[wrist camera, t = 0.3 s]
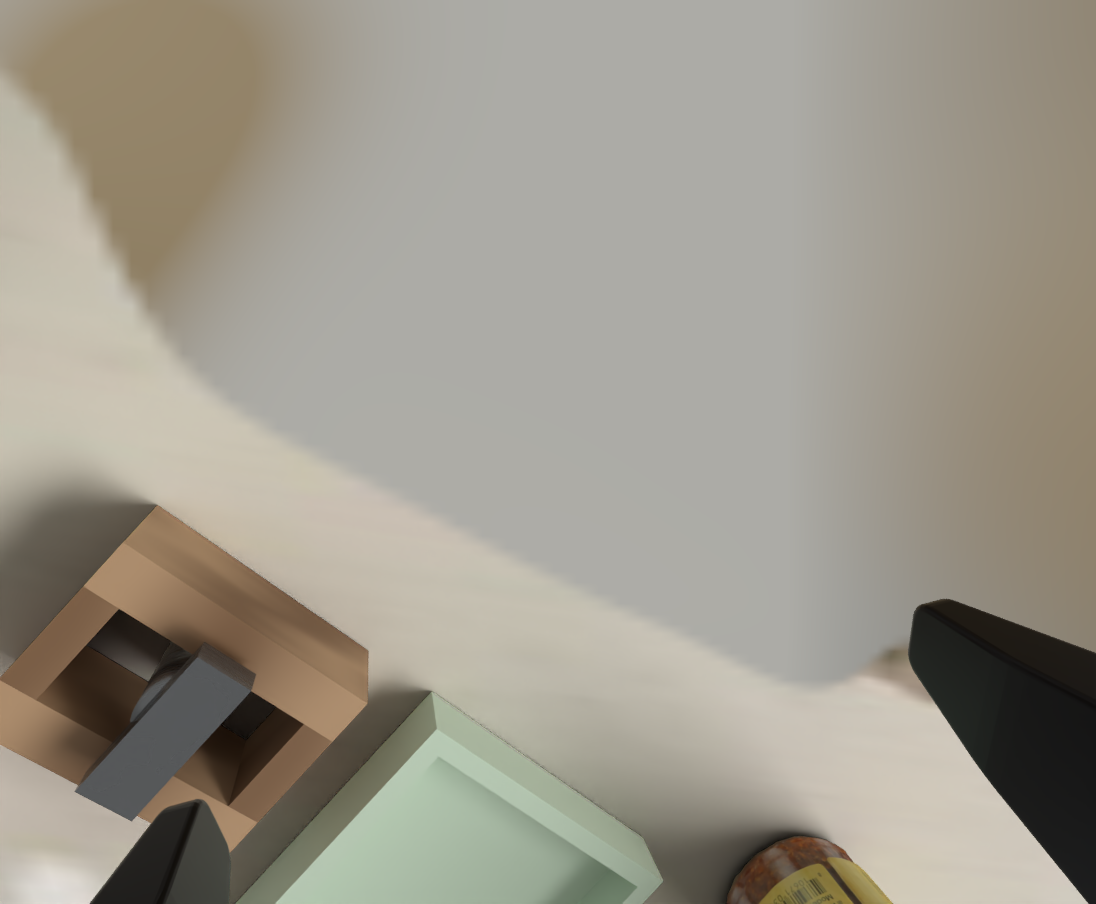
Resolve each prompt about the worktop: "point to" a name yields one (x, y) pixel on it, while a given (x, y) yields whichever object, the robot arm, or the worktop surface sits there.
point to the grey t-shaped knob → (166, 727)
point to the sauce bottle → (804, 876)
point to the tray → (457, 830)
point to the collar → (188, 621)
